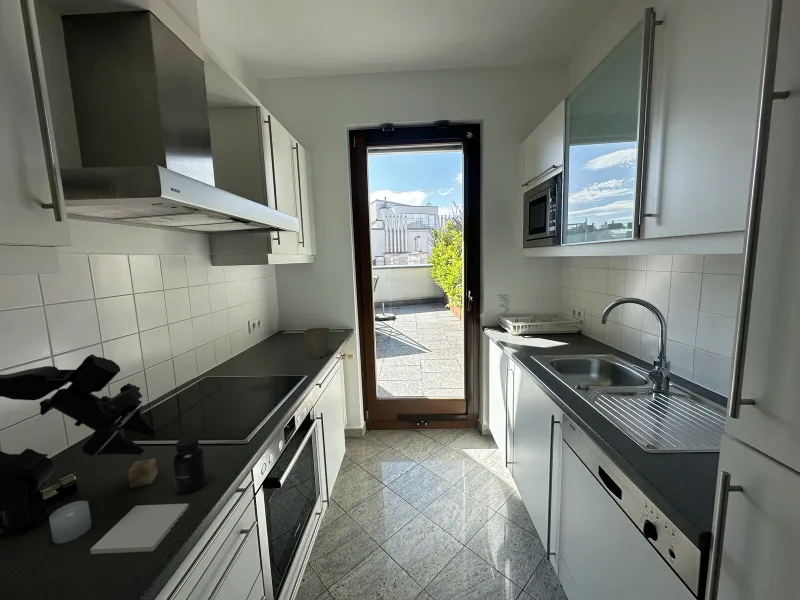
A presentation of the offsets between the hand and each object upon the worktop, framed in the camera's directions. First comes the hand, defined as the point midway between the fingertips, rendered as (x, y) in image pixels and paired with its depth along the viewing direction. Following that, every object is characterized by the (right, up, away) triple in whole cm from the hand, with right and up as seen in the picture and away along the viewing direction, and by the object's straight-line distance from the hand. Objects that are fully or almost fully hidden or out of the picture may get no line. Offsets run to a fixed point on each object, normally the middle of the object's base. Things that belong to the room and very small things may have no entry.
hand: (148, 442), depth 83 cm
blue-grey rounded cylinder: (-9, -15, -10) cm, 20 cm away
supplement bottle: (+8, -13, +4) cm, 16 cm away
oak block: (-6, -13, +7) cm, 16 cm away
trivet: (+6, -14, -10) cm, 18 cm away
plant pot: (+13, +1, +118) cm, 119 cm away
